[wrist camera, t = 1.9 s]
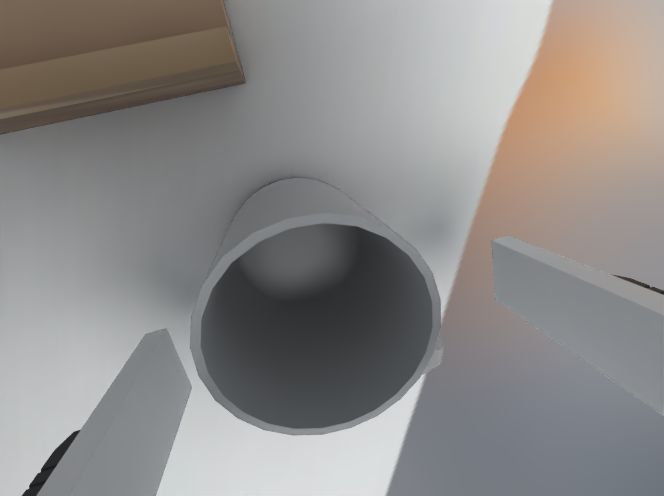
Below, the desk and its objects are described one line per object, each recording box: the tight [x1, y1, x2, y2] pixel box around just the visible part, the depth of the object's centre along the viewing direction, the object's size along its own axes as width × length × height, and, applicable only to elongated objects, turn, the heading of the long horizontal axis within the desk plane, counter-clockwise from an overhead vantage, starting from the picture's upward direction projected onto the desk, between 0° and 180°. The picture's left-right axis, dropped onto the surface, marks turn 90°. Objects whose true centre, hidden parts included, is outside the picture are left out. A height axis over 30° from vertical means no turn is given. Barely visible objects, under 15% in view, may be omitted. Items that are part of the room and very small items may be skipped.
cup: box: [190, 177, 444, 435], centre depth 14 cm, size 7×10×9 cm
